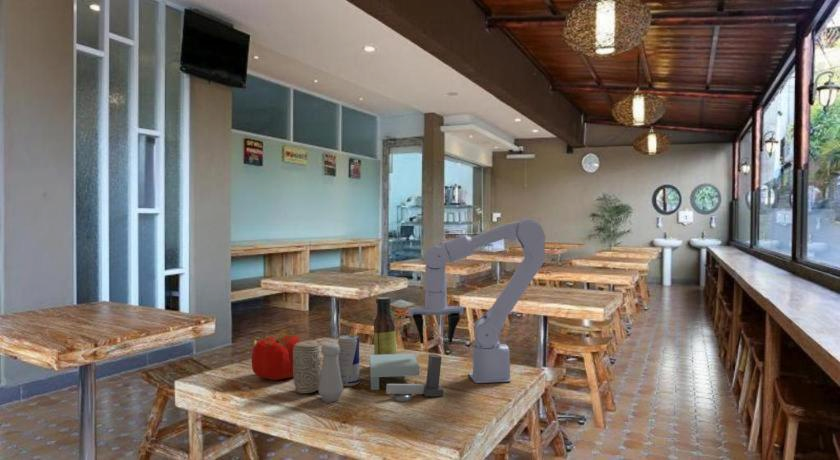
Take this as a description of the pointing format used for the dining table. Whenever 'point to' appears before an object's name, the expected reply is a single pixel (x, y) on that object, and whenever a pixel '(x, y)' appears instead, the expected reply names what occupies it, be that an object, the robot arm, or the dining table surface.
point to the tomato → (274, 357)
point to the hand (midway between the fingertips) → (435, 342)
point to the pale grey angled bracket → (391, 367)
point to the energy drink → (349, 359)
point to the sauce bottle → (384, 328)
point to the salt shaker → (330, 374)
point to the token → (402, 397)
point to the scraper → (427, 389)
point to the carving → (306, 366)
